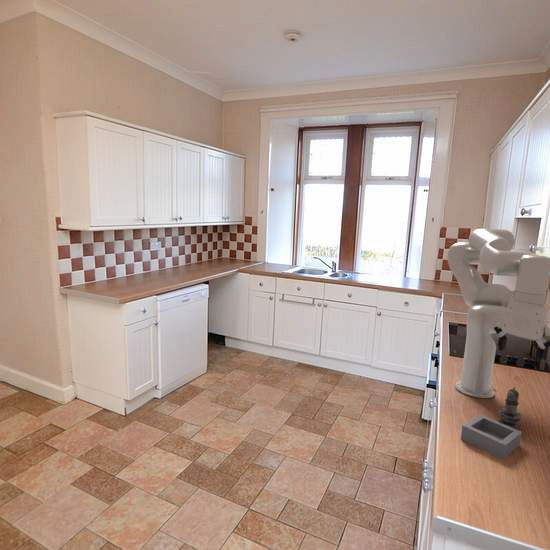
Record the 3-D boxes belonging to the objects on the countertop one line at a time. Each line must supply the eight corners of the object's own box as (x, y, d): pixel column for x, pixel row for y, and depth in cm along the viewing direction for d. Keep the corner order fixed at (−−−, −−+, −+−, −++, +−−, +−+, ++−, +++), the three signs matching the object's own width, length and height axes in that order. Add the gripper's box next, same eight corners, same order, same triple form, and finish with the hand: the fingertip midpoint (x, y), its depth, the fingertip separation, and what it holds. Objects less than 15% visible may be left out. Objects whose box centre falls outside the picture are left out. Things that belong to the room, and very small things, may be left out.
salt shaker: (511, 419, 118) (517, 383, 117) (524, 430, 113) (530, 392, 111) (492, 419, 118) (498, 382, 116) (504, 429, 112) (511, 391, 110)
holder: (478, 426, 113) (480, 414, 112) (519, 445, 104) (522, 432, 104) (460, 438, 106) (462, 425, 106) (503, 459, 98) (505, 445, 97)
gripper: (491, 293, 113) (483, 348, 116) (560, 306, 100) (549, 368, 103) (502, 291, 118) (493, 343, 121) (569, 303, 105) (558, 362, 107)
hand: (519, 354), depth 112 cm, fingers open, 9 cm apart
